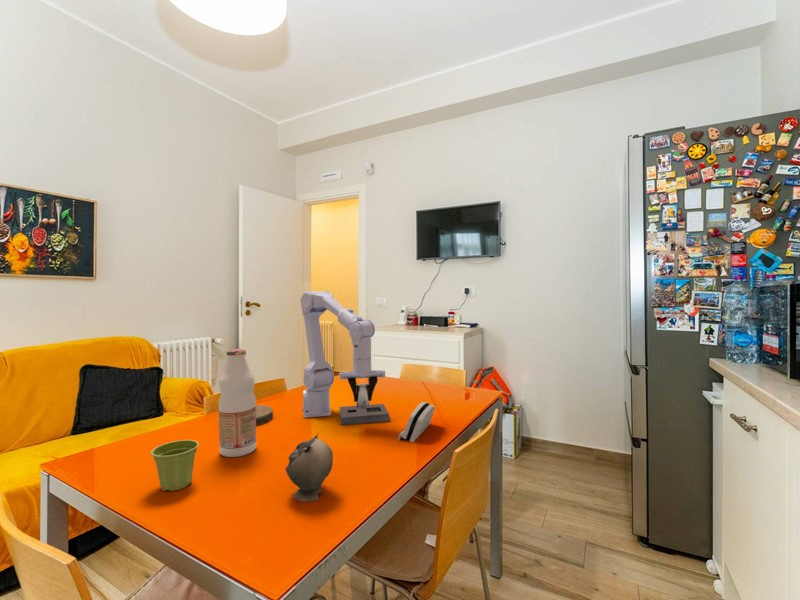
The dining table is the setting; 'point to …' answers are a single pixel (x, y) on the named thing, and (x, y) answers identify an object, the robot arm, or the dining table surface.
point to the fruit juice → (237, 407)
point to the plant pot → (175, 463)
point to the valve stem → (362, 396)
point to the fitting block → (363, 414)
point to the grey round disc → (263, 414)
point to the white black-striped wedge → (418, 421)
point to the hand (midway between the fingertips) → (362, 400)
